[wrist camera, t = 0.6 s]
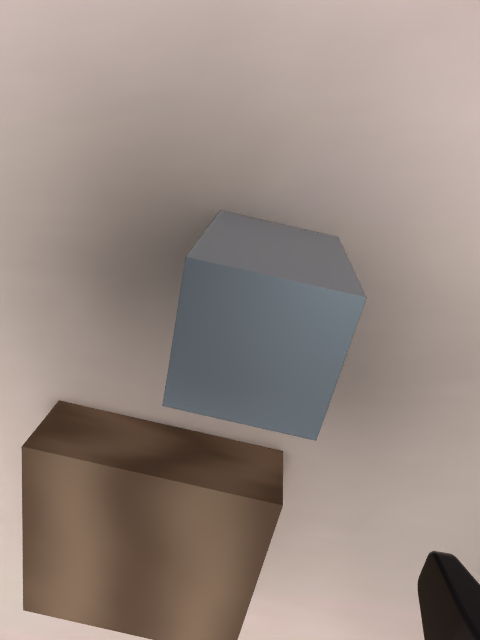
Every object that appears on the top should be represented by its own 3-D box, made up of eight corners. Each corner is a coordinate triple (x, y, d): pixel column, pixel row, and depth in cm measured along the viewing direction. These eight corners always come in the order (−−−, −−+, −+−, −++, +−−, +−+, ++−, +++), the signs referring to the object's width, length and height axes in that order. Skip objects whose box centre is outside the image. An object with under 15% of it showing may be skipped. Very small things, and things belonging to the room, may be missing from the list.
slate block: (338, 236, 18) (366, 297, 12) (306, 341, 20) (315, 440, 14) (220, 210, 18) (185, 256, 12) (200, 317, 20) (162, 405, 14)
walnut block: (283, 446, 23) (282, 505, 20) (238, 588, 28) (231, 657, 25) (62, 396, 23) (21, 446, 20) (56, 547, 28) (23, 610, 25)
